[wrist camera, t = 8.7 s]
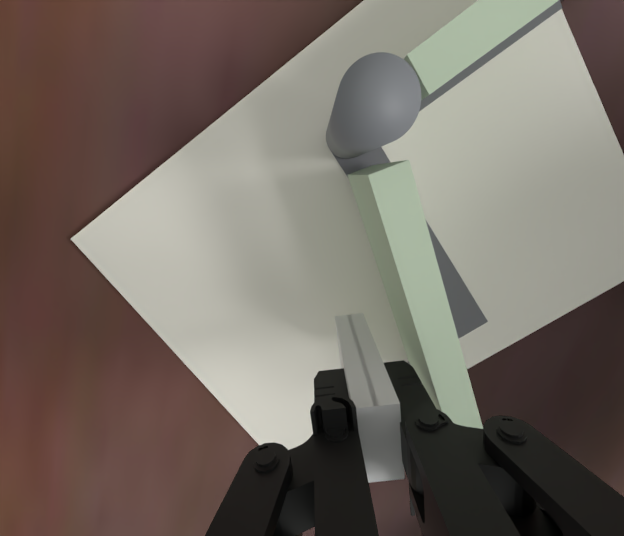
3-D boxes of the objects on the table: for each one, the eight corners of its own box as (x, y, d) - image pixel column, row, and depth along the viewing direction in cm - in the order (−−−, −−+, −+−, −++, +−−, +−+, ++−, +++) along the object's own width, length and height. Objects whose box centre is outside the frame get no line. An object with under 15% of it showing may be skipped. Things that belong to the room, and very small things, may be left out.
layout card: (502, -109, 13) (509, -119, 13) (659, 254, 17) (668, 257, 16) (75, 237, 17) (69, 239, 16) (284, 466, 21) (283, 473, 20)
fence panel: (343, 176, 15) (365, 178, 9) (376, 163, 15) (425, 155, 8) (411, 382, 18) (467, 500, 12) (439, 373, 18) (512, 488, 11)
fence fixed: (566, -58, 13) (905, -370, 6) (585, -10, 14) (925, -240, 6) (317, 131, 15) (320, 89, 8) (340, 168, 16) (365, 162, 8)
